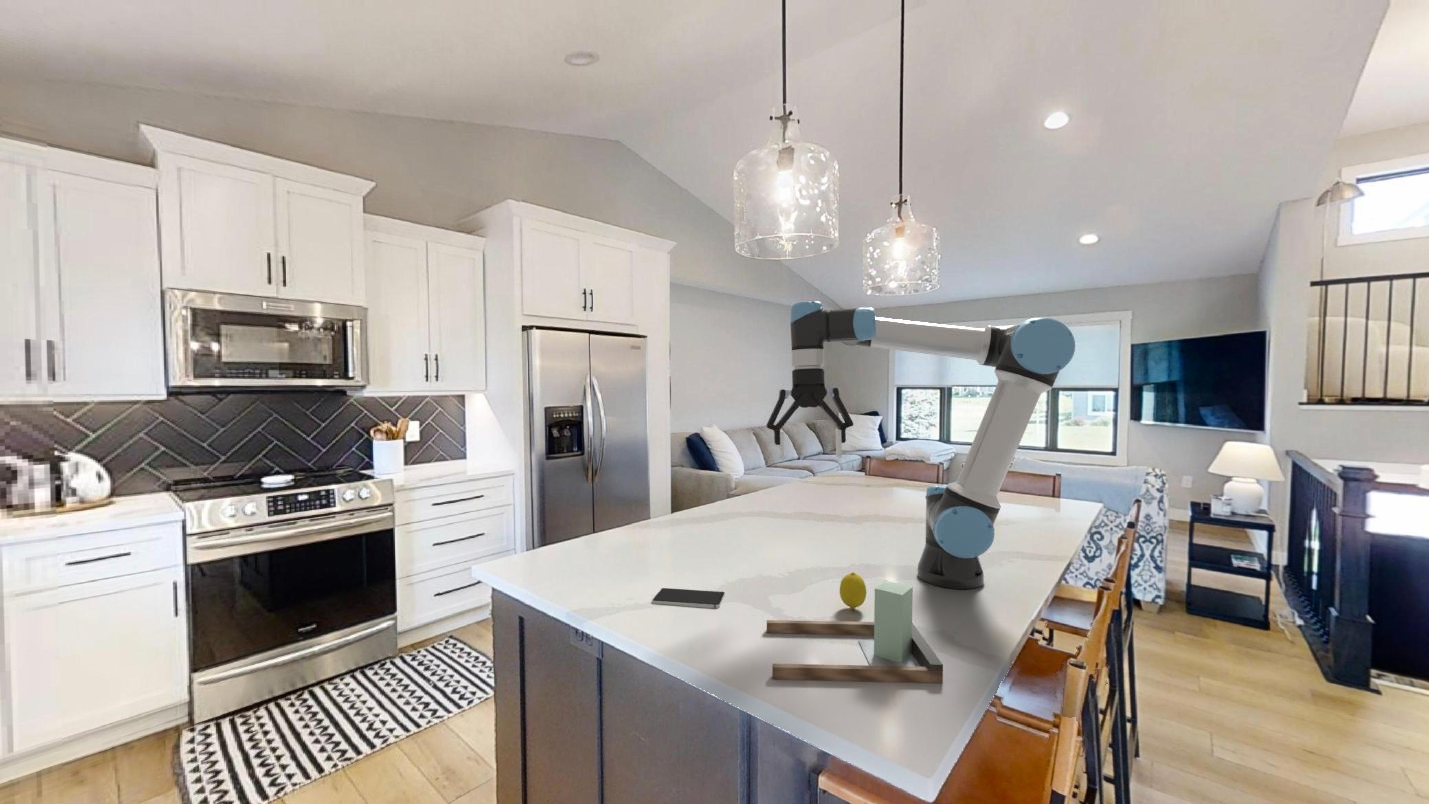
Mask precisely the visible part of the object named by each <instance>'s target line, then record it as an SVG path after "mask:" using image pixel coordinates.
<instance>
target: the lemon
mask: <svg viewBox="0 0 1429 804" xmlns="http://www.w3.org/2000/svg"><path fill="white" fill-rule="evenodd" d="M839 596H840V598H841V599H840V600H841V601H842V602H843V603H844V604H845V605H846V607H848V608H849V609H851V610H855V609H856V608H858V607H861V606H862V605H863V604H864V602H865V600H866V597H867V587H866V583H865V580H864V579H863V578H862V577H861V575H859V574H858V573H857V574H856V573H855V571H854V572H851V573H847V574H846V575H845V576H843V578H842V579H841V581H840V584H839Z"/></svg>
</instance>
